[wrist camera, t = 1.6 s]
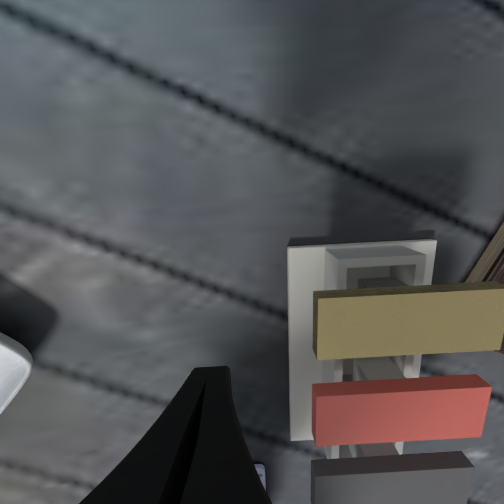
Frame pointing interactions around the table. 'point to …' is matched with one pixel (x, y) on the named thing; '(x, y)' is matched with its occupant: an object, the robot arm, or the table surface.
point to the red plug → (397, 406)
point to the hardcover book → (491, 265)
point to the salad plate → (12, 368)
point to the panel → (337, 278)
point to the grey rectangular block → (391, 477)
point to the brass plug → (407, 319)
